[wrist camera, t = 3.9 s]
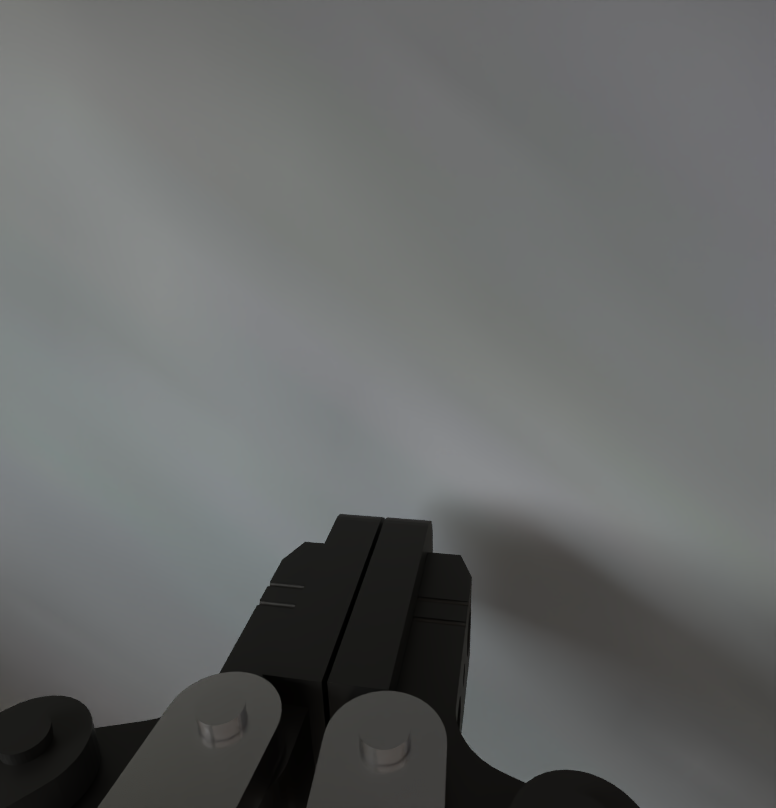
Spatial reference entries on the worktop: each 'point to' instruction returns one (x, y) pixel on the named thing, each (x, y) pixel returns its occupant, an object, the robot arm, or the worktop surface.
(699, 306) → the worktop surface
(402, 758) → the robot arm
